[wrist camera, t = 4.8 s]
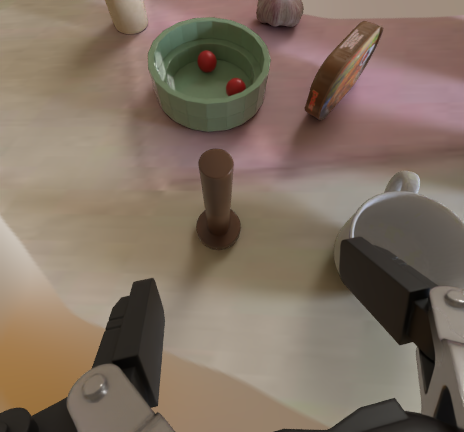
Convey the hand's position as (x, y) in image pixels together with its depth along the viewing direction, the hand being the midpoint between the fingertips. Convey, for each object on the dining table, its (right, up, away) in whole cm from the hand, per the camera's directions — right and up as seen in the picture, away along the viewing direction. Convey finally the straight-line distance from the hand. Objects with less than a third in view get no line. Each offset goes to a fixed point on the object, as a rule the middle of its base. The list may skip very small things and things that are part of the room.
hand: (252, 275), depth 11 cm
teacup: (+15, -2, +20) cm, 25 cm away
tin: (+14, +20, +28) cm, 38 cm away
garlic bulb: (+7, +36, +34) cm, 50 cm away
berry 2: (0, +20, +25) cm, 32 cm away
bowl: (-4, +21, +28) cm, 35 cm away
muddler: (-2, +1, +20) cm, 20 cm away
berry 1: (-4, +25, +27) cm, 37 cm away
